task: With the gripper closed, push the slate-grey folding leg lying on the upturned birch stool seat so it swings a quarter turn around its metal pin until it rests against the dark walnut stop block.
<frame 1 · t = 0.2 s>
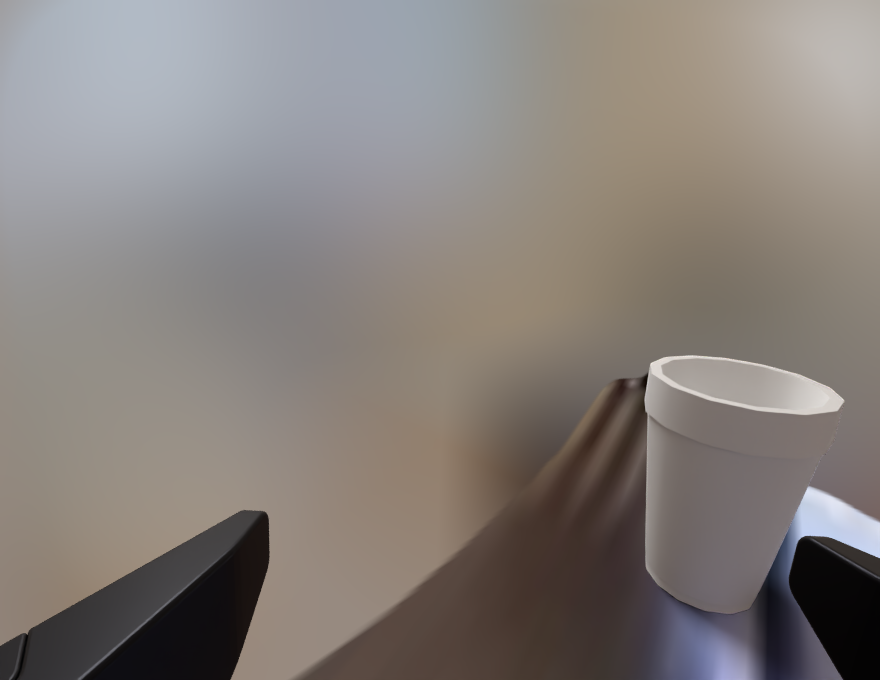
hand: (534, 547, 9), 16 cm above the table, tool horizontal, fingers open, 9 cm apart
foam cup: (697, 577, 32), on the table
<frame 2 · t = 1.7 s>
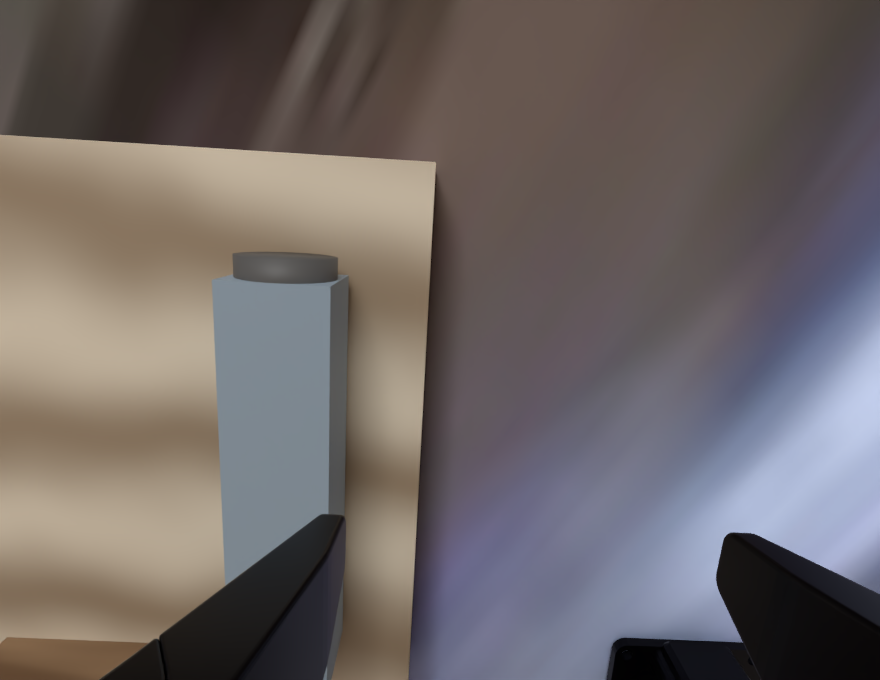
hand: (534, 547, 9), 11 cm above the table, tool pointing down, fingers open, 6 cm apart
stop block: (129, 610, 22), resting on stool seat
hinged leg: (285, 495, 15), point 5 cm above the table, hinge at 0.0°
stool seat: (164, 424, 20), on the table
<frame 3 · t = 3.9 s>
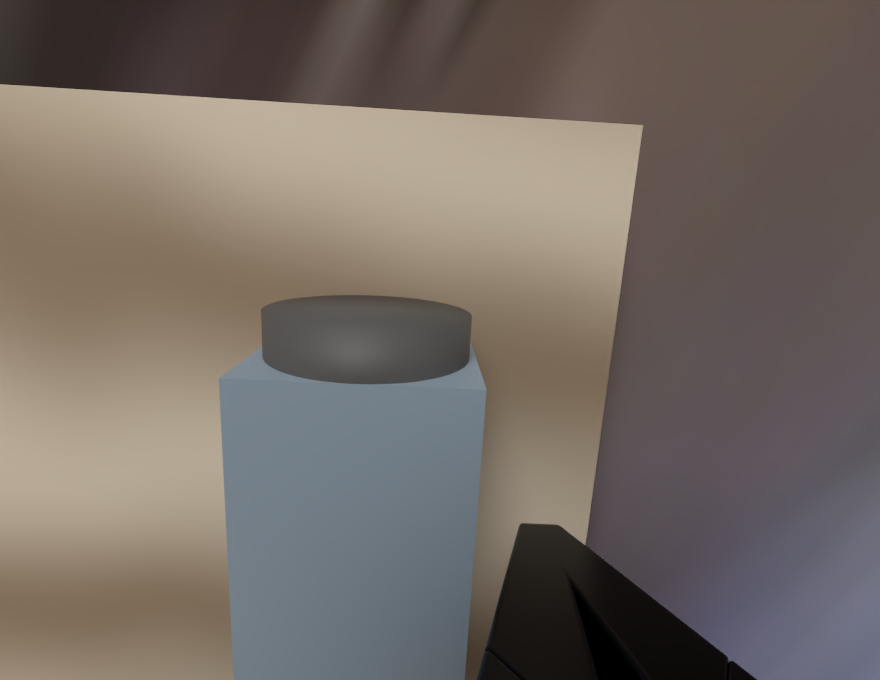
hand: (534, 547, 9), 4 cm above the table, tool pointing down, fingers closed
stool seat: (140, 553, 12), on the table
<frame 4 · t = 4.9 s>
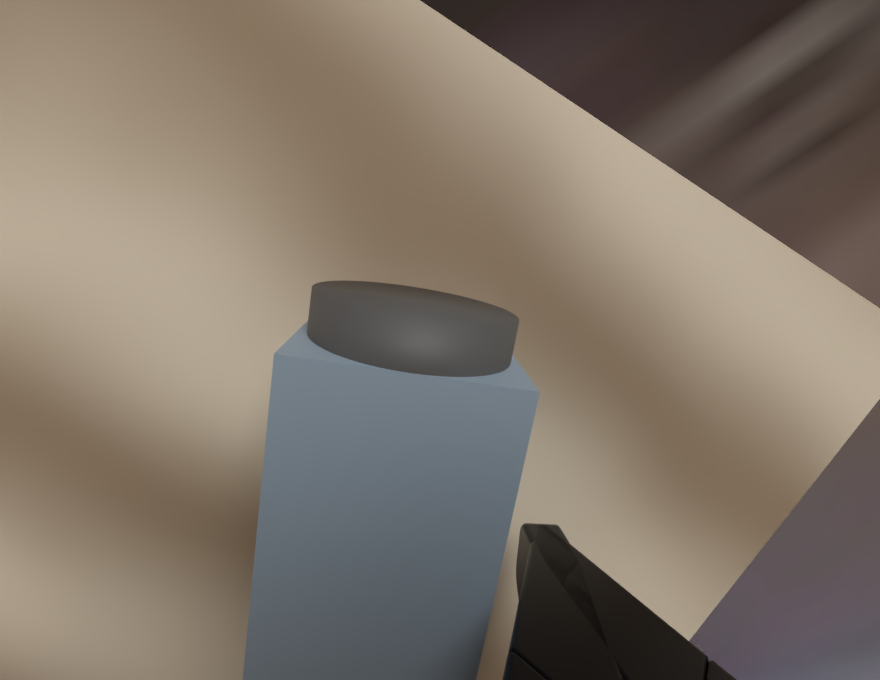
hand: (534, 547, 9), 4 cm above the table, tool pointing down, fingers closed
stool seat: (231, 474, 12), on the table
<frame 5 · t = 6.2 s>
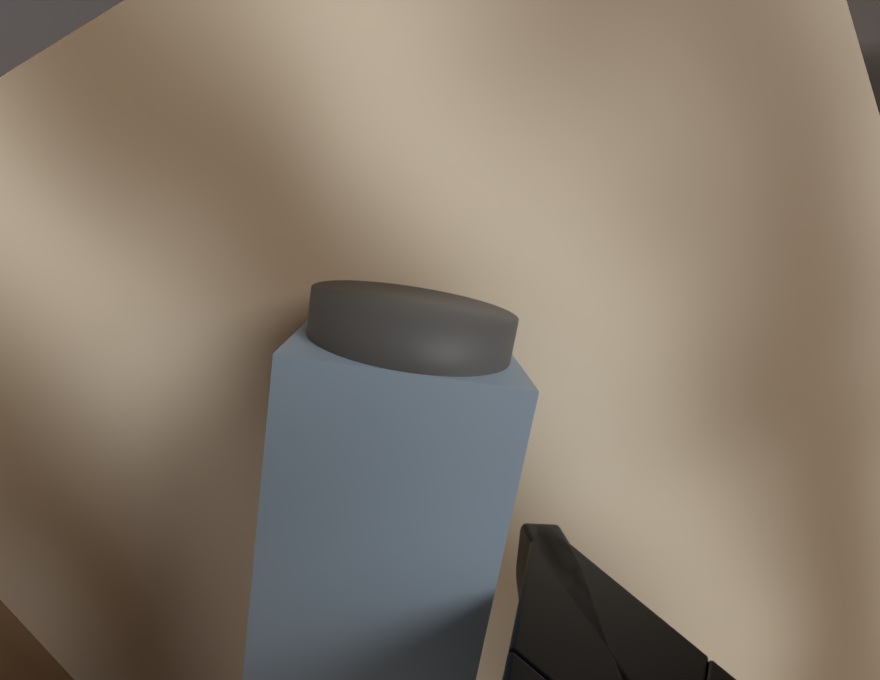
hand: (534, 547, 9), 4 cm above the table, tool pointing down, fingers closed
stop block: (77, 567, 12), resting on stool seat
stool seat: (429, 471, 12), on the table
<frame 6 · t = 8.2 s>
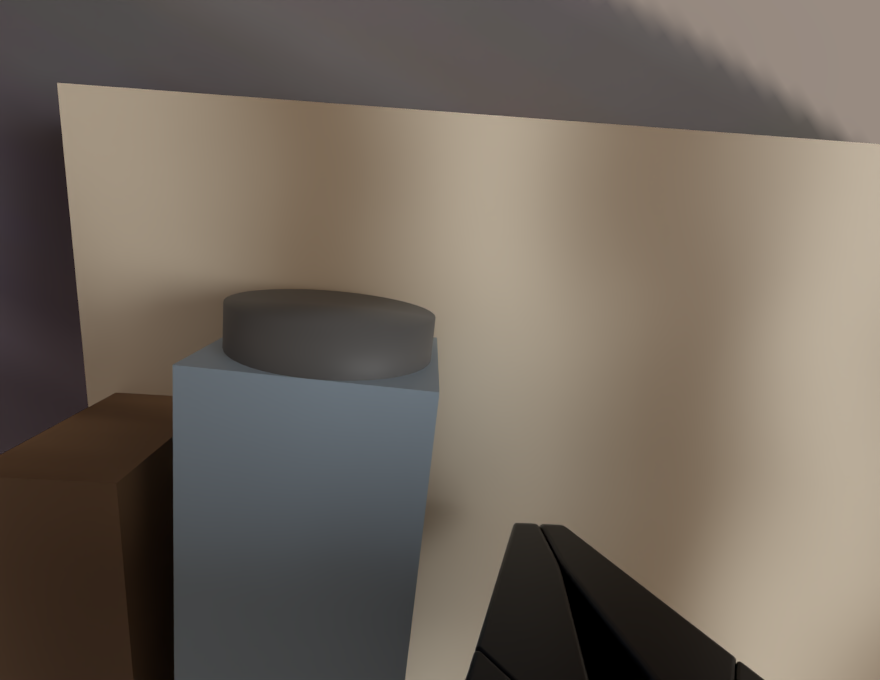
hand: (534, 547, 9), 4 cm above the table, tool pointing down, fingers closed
stop block: (227, 479, 12), resting on stool seat
stool seat: (573, 569, 13), on the table
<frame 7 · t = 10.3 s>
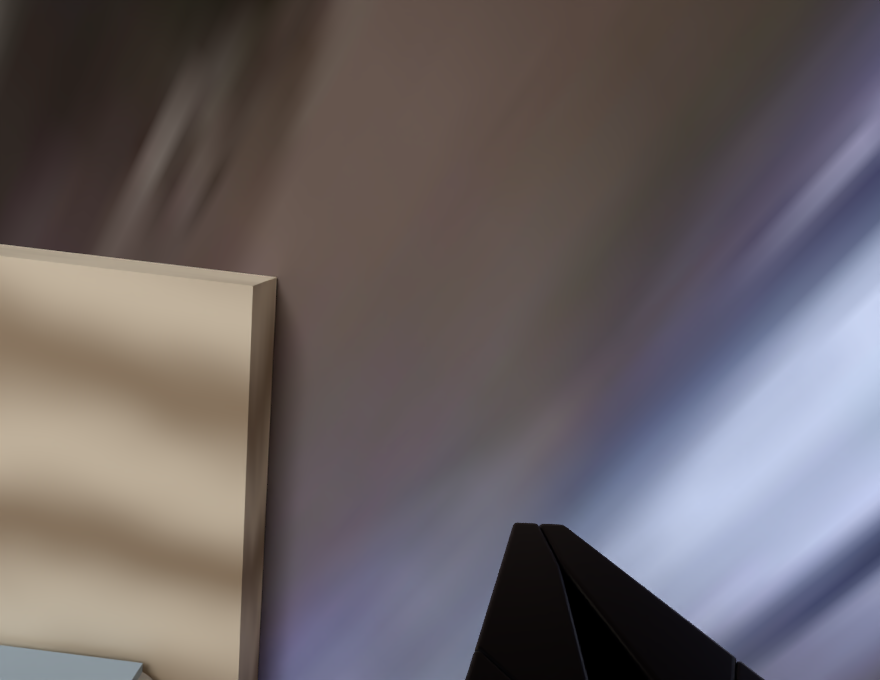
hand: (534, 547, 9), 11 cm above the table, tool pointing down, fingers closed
stool seat: (13, 495, 20), on the table
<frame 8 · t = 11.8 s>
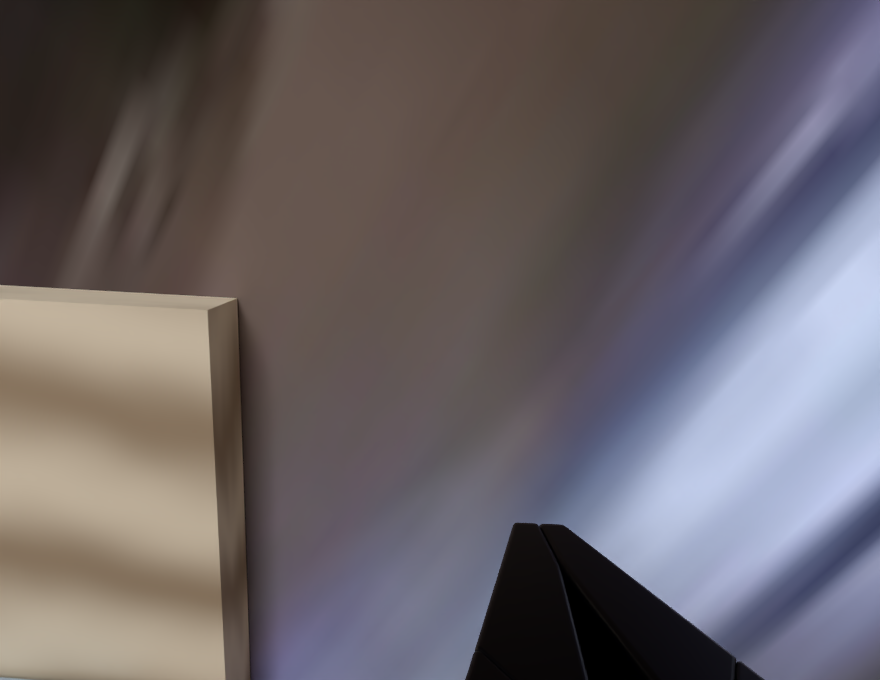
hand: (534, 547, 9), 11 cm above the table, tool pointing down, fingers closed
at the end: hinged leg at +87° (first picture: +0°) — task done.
